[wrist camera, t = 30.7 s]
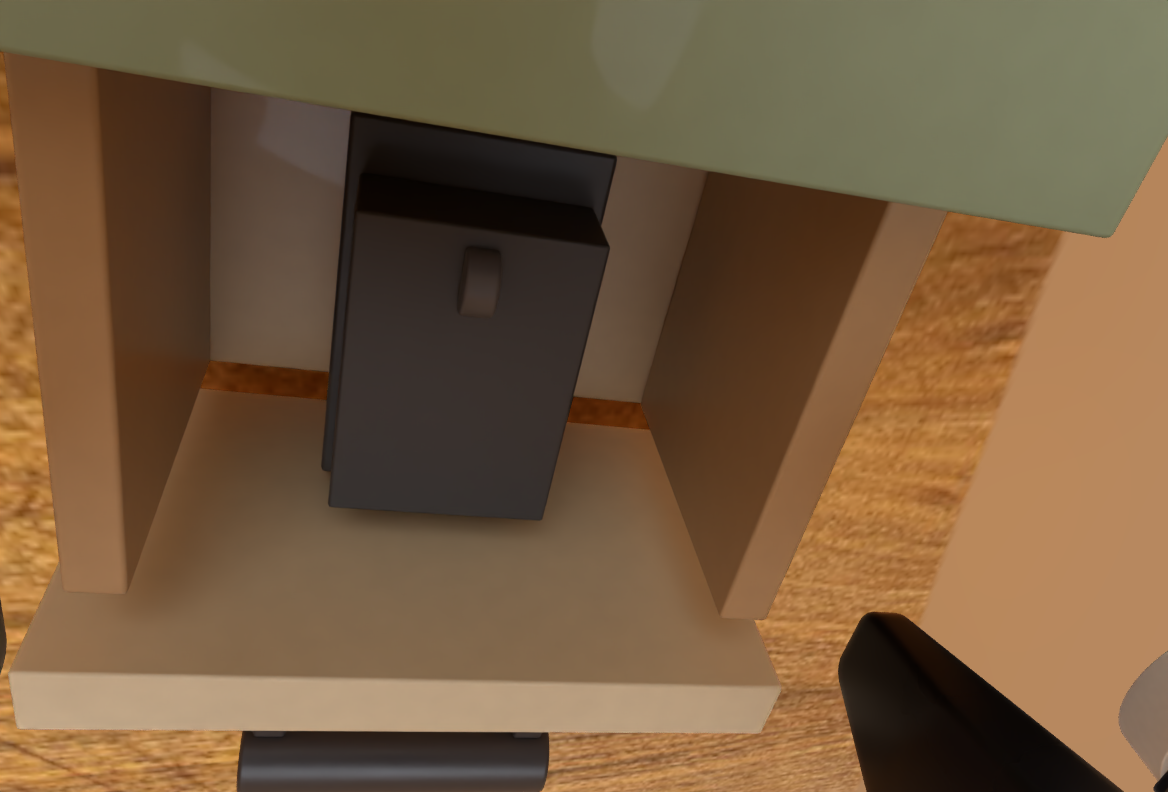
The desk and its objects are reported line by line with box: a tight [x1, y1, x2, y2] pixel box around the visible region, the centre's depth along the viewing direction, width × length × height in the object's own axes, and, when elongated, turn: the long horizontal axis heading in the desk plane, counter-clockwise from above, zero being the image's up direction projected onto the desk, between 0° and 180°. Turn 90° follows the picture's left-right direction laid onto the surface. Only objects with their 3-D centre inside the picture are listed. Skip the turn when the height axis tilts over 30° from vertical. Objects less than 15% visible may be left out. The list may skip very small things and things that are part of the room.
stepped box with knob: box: [321, 111, 617, 521], centre depth 15 cm, size 4×6×4 cm, turn 168°
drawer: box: [4, 52, 948, 792], centre depth 15 cm, size 18×11×7 cm, turn 167°
